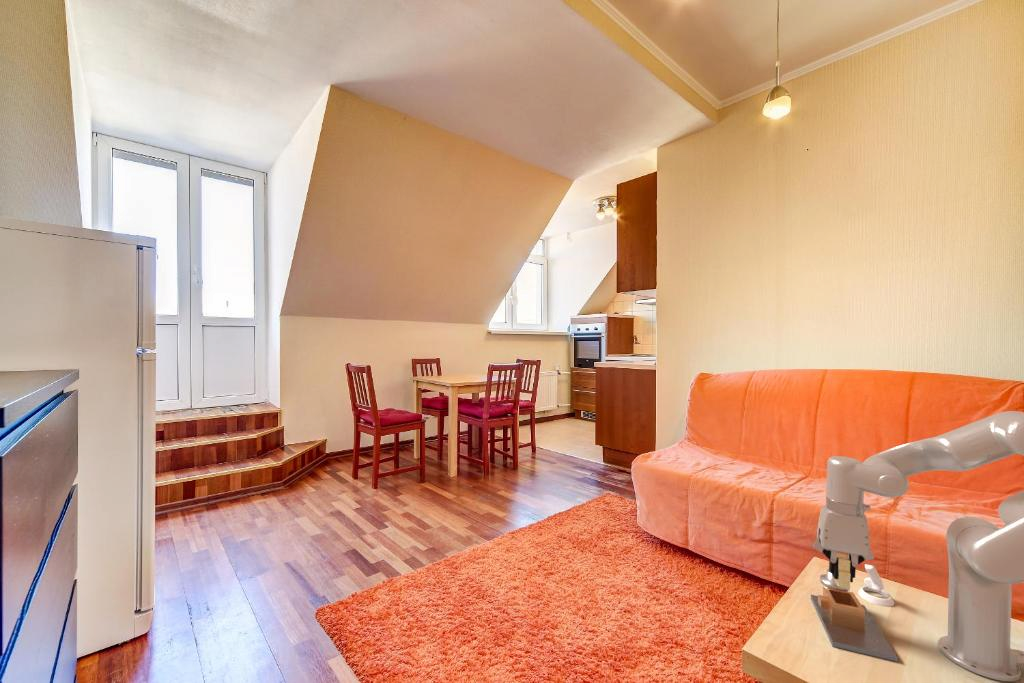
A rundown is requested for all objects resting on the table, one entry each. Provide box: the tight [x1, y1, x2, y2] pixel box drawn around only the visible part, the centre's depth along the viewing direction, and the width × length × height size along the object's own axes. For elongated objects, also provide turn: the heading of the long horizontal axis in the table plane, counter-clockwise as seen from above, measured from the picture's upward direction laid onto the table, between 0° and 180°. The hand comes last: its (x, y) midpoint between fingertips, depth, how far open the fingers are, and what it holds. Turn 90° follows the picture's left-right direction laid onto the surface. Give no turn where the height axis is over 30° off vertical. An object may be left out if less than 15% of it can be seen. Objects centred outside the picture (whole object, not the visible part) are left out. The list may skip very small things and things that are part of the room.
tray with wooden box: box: [810, 568, 898, 663], centre depth 108 cm, size 12×22×9 cm, turn 157°
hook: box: [857, 564, 895, 607], centre depth 119 cm, size 8×12×7 cm
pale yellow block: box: [834, 552, 851, 590], centre depth 109 cm, size 2×4×7 cm, turn 157°
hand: (841, 577), depth 109 cm, fingers closed on pale yellow block, 2 cm apart
